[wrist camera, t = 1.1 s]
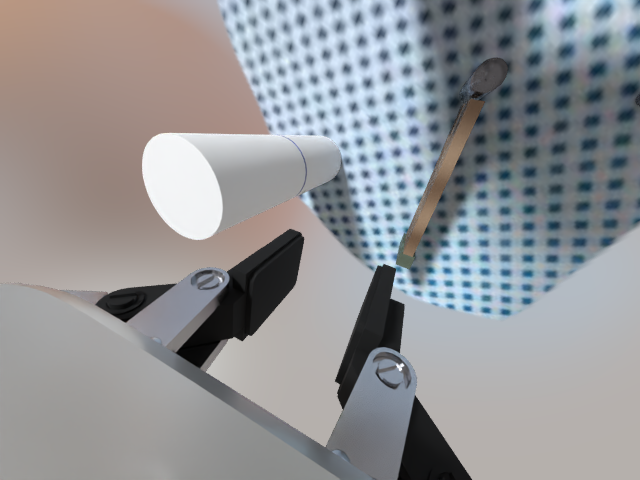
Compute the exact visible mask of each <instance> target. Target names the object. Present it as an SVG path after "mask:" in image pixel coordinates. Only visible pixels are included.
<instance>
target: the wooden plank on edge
mask: <svg viewBox="0 0 640 480" xmlns="http://www.w3.org/2000/svg"><path fill="white" fill-rule="evenodd" d="M484 103H485V101H479V100H474V99H470V100H469V101H466V103H465V104H464V105H461V107H460V109H459V112H458V114H457V117H456V119H455V121H454V124H453V126H452V128H451V131H450V133H449V135H448V138H447V140H446V142H445V145H444V147H443V150H442V152H441V154H440V157H439V159H438V161H437V164H436V166H435V168H434V171H433V173H432V175H431V178H430V180H429V182H428V185H427V187H426V189H425V192H424V194H423V196H422V199H421V201H420V203H419V206H418V208H417V210H416V213H415V215H414V217H413V220H412V222H411V225H410V227H409V229H408V232H407V234H405V233H404V235H403V237H402V240H401V242H400V246H399V250H398V255H397V260H396V265H399V266H402V267H404V268H407V269H410V267H411V265H412V263H413V261H414V259H415V251H416V248H417V246H418V244H419V242H420V240H421V238H422V236H423V233H424V231H425V229H426V227H427V225H428V223H429V221H430V218H431V216H432V214H433V212H434V210H435V208H436V206H437V203H438V201H439V199H440V197H441V195H442V193H443V191H444V188H445V186H446V184H447V182H448V180H449V178H450V176H451V173H452V171H453V169H454V167H455V165H456V163H457V160H458V158H459V156H460V154H461V152H462V150H463V148H464V145H465V143H466V141H467V139H468V137H469V135H470V133H471V130H472V128H473V126H474V124H475V122H476V120H477V118H478V115H479V113H480V111H481V109H482V107H483V105H484Z"/></svg>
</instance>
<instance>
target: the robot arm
mask: <svg viewBox="0 0 640 480" xmlns="http://www.w3.org/2000/svg"><path fill="white" fill-rule="evenodd" d="M303 244H304V237H302V234H301V233H300V232H298V231H295V230H292V229H289V230H287V231H286V232H285V233H283V234H282V235H280V236H279V237H277V238H276V239H274V240H273V241H272V242H270V243H269V244H267V245H266V246H264V247H263V248H261V249H259V250H258V251H256V252H255V253H254V254H252V255H251V256H249V257H248V258H246V259H245V260H244V261H242V262H240V263H239V264H238V265H236V266H235V267H233V268H232V269H230V270H229V271H227V272H226V271H224V270H222V269H219V268H210V267H209V268H202V269H199V270H196V271H194V272H193V273H191V274H189V275H188V276H187V277H186V278H184V279H183V280H181V281H180V282H179V283H178V284H168V285H156V286H145V287H134V288H126V289H121V290H117V291H114V292H112V293H110V294H108V293H107V292H97V291H73V290H57V289H53V288H49V287H44V286H38V285H29V284H22V283H0V480H472V479H471V477H470V476H469V474H468V473H467V472H466V470H465V468H464V467H463V466H462V464H461V463H460V461H459V460H458V458H457V457H456V455H455V454H454V452H453V451H452V449H451V448H450V446H449V445H448V443H447V442H446V441H445V439H444V437H443V436H442V434H441V433H440V432H439V430H438V428H437V427H436V425H435V424H434V422H433V421H432V419H431V418H430V416H429V415H428V413H427V412H426V410H425V409H424V408H423V406H422V405H421V403H420V402H419V400H418V399H417V397H416V396H415V391H416V386H417V377H416V374H415V371H414V369H413V367H412V365H411V364H410V363H409V361H408V360H407V359H406V358H405V357H404V356H402V355H401V354H400V345H401V336H402V326H403V317H404V304H402V303H400V302H398V301H395V300H393V299H390V297H391V292H392V287H393V282H394V277H395V272H396V268H393V267H390V266H388V265H385V264H384V265H383V267H381V266H377V269H376V271H375V274H374V277H373V279H372V282H371V284H370V287H369V289H368V292H367V295H366V297H365V300H364V302H363V305H362V307H361V310H360V313H359V315H358V318H357V321H356V324H355V327H354V329H353V332H352V335H351V338H350V341H349V343H348V346H347V349H346V352H345V354H344V357H343V360H342V363H341V366H340V369H339V372H338V374H337V377H336V380H335V382H337V383H339V384H340V387H339V389H338V392H337V394H338V399H339V401H340V404H341V406H342V409H343V411H342V413H341V415H340V417H339V420H338V422H337V424H336V426H335V428H334V430H333V432H332V434H331V437H330V439H329V441H328V443H327V445H326V447H324V446H322V445H320V444H319V443H317V442H316V441H314V440H312V439H311V438H309V437H308V436H306V435H305V434H303V433H301V432H300V431H298V430H297V429H295V428H293V427H292V426H290V425H289V424H287V423H286V422H284V421H282V420H281V419H279V418H278V417H276V416H274V415H273V414H271V413H270V412H268V411H267V410H265V409H263V408H262V407H260V406H259V405H257V404H255V403H254V402H252V401H251V400H249V399H247V398H245V397H244V396H243V395H241V394H239V393H238V392H236V391H235V390H233V389H231V388H230V387H228V386H227V385H225V384H223V383H222V382H220V381H219V380H217V379H215V378H214V377H212V376H210V375H209V374H207V373H206V371H207V369H208V368H209V367H210V365H211V364H212V362H213V361H214V360H215V358H216V357H217V356H218V354H219V353H220V351H221V350H222V349H223V347H224V346H225V344H226V343H227V341H228V339H230V338H233V337H236V338H237V339H239V340H241V341H243V340H244V339H245V338H246V337H247V336H248V335H250V336H252V335H253V334H254V333H255V332H256V331H257V329H258V328H259V327H260V326H261V325H262V324H263V322H264V321H265V320H266V319H267V318H268V317H269V315H270V314H271V313H272V312H273V311H274V310H275V308H276V307H277V306H278V305H279V304H280V303H281V301H282V300H283V299H284V298H285V297H286V296H287V294H288V293H289V292H290V291H291V290H292V289H293V287H294V285H295V284H296V281H297V275H298V270H299V264H300V260H301V254H302V249H303Z"/></svg>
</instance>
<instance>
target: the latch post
mask: <svg viewBox="0 0 640 480" xmlns="http://www.w3.org/2000/svg"><path fill="white" fill-rule="evenodd" d="M636 103H637V105H639V106H640V94H639V95H638V97H637V99H636Z"/></svg>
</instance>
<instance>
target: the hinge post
mask: <svg viewBox="0 0 640 480" xmlns="http://www.w3.org/2000/svg"><path fill="white" fill-rule="evenodd" d="M507 71H508V67H507V64H506V62H505V61H504V60H503V59H501V58H491V59H488V60H486V61H485V62H483V63H482V64H481V65H480V66H479V67H478V68H477V70H476V71H475V72H474V73H473V75H472V76H471V77H470V78H469V80H468V81H467V82H466V83H465V85H464V86H463V87H462V89H461V91H460V99H461V101H462V102H464V103H466V101H469V100H470V99H474V100H479V99H481V98H482V97H484V96H485V95H487V94H488V93H490V92H491V91H493V90H494V89H496V88H497V87H498V86H500V85H501V84H502V82H503V81H504V80H505V78H506V75H507Z"/></svg>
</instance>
